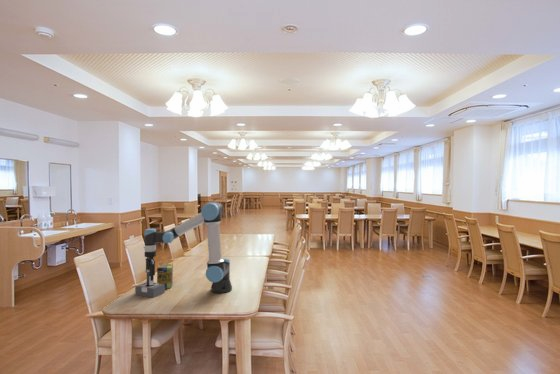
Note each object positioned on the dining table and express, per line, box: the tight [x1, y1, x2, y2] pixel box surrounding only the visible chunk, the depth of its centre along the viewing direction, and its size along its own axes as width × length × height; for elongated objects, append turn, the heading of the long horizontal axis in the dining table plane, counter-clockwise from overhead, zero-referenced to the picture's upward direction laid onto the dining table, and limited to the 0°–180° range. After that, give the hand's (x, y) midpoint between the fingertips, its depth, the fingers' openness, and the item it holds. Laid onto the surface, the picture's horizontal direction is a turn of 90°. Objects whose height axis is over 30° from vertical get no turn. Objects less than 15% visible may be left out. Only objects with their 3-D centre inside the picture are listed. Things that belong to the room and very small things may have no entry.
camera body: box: [134, 280, 166, 299], centre depth 230 cm, size 16×12×7 cm
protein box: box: [156, 262, 174, 289], centre depth 249 cm, size 10×15×16 cm
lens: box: [145, 269, 154, 287], centre depth 230 cm, size 5×5×12 cm
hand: (150, 283), depth 230 cm, fingers closed on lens, 5 cm apart
